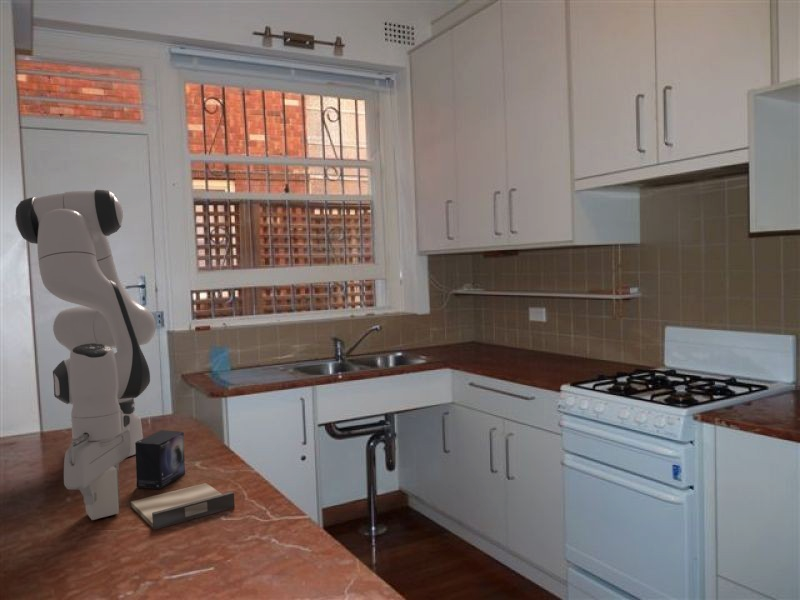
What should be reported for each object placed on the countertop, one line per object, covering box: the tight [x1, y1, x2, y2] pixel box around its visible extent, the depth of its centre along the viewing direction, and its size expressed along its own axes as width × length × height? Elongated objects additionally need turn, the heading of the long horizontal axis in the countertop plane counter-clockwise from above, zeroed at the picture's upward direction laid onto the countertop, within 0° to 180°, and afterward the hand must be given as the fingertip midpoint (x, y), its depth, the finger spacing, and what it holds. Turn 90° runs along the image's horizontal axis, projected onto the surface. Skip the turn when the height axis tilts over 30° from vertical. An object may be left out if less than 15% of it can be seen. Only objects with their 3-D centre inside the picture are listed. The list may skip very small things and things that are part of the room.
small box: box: [135, 429, 186, 490], centre depth 146 cm, size 11×6×10 cm, turn 168°
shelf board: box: [130, 482, 235, 530], centre depth 131 cm, size 15×16×3 cm
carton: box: [84, 466, 120, 521], centre depth 127 cm, size 5×5×9 cm
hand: (101, 494), depth 127 cm, fingers closed on carton, 7 cm apart
